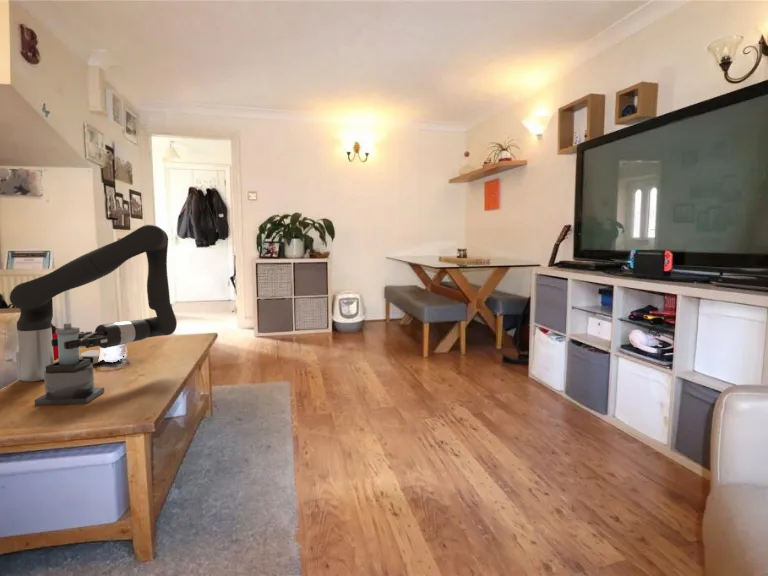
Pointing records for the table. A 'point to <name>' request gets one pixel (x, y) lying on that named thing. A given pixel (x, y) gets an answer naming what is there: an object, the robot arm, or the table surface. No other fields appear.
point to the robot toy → (90, 356)
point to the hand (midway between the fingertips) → (58, 344)
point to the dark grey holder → (69, 384)
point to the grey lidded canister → (63, 336)
